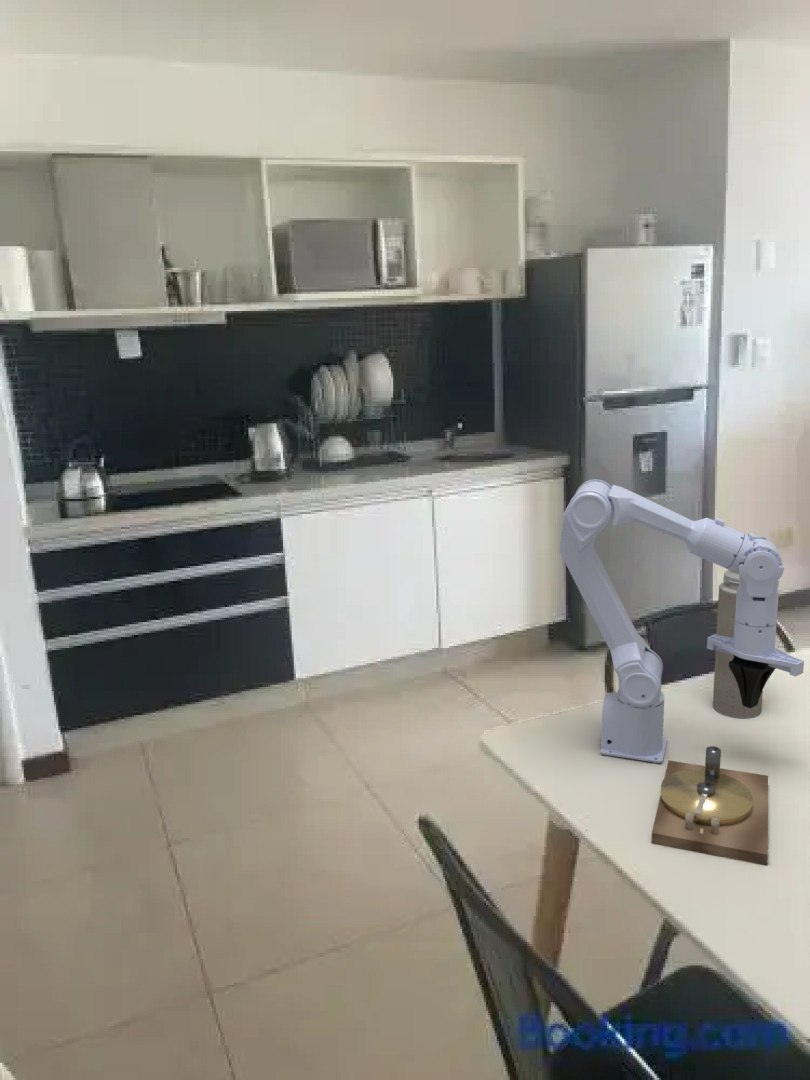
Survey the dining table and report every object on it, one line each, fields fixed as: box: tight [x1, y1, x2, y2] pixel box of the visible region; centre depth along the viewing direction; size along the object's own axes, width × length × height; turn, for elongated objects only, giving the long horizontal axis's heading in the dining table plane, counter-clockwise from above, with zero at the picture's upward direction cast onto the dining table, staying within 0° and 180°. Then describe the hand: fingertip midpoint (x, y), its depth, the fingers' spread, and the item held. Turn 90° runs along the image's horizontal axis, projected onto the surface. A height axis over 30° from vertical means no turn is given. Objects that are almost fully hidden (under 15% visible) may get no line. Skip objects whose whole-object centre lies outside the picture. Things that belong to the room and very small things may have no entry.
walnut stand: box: [651, 760, 769, 866], centre depth 116 cm, size 14×20×4 cm
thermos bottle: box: [712, 569, 764, 719], centre depth 143 cm, size 8×8×28 cm
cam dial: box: [660, 745, 753, 826], centre depth 116 cm, size 12×12×5 cm
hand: (750, 705), depth 127 cm, fingers closed
